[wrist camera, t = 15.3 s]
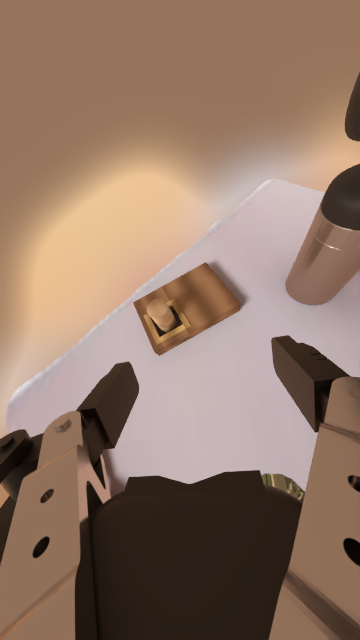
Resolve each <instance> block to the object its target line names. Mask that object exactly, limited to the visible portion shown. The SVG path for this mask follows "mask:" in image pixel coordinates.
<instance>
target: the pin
mask: <svg viewBox="0 0 360 640" xmlns="http://www.w3.org/2000/svg"><path fill="white" fill-rule="evenodd" d="M147 313H148V314H149V315H150V317H151V318H152V319H153V320H154V322H155V323H156V324H157V325H158V326H159V328H160V329H161V330H162V331H163V333H165V334H166V333H168V332H170V331H172V330H174V329H175V328H177V327H179V325H178V322H177V320H176V319H175V317H174V315H173V313H172V312H171V310H170V308H169V306H168V305H167V303H166V301H165V300H163V299H160V298H157V299H154V300H152V301H151V302H150V303H149V304H148V306H147Z"/></svg>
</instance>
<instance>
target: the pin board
mask: <svg viewBox="0 0 360 640" xmlns="http://www.w3.org/2000/svg"><path fill="white" fill-rule="evenodd" d="M157 298H160V299H163V300H165V301H166V303H167V305H168V306H169V308H170V310H171V312H172V313H174V312H176V313H177V315H178V317H179V318H180V320H181V322H182V324H183V325H181V326H179V327H177V328H175V329H174V330H172V331H170V332H168V333H166V334H165V335H163V336H161V335H160V333H159V330H158V328H157V326H156V324H155V322H154V320H153V319H152V318H151V317H150V315H149V314H148V313H147V306H148V304H149V303H150V302H151V301H152V300H154V299H157ZM133 303H134V306H135V308H136V310H137V313H138V315H139V317H140V320H141V322H142V324H143V327H144V329H145V331H146V333H147V336H148V338H149V340H150V343H151V345H152V347H153V350H154V352H155V353H156V354H158V355H159V356H160V355H162V354H163V353H165V352H167V351H169V350H170V349H172V348H174V347H176V346H178V345H179V344H181V343H183V342H185V341H186V340H188V339H190V338H192V337H194V336H195V335H197V334H199V333H201V332H202V331H204V330H206V329H208V328H210V327H211V326H213V325H215V324H217V323H219V322H220V321H222V320H224V319H226V318H227V317H229V316H231V315H233V314H235V313H236V312H238V311H240V303H239V301H238V300H237V299H236V298H235V297H234V295H233V294H232V293H231V292H230V291H229V289H228V288H227V287H226V286H225V285H224V283H223V282H222V281H221V280H220V279H219V277H218V276H217V275H216V274H215V273H214V271H213V270H212V269H211V268H210V267H209V265H208V264H207V263H206V262H205V263H204V264H202V265H200V266H198V267H196V268H195V269H193V270H191V271H189V272H187V273H186V274H184V275H182V276H180V277H178V278H177V279H175V280H173V281H171V282H169V283H168V284H166V285H164V286H162V287H160V288H159V289H157V290H155V291H153V292H151V293H150V294H148V295H146V296H144V297H142V298H141V299H139V300H137V301H135V302H133Z"/></svg>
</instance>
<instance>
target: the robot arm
mask: <svg viewBox="0 0 360 640" xmlns="http://www.w3.org/2000/svg"><path fill="white" fill-rule="evenodd" d="M345 132H346V134H347V136H348V137H349V138H350V139H352V140H355V141H360V73H359V75H358V78H357V80H356V83H355V86H354V89H353V91H352V94H351V98H350V101H349V105H348V108H347V113H346V118H345ZM359 269H360V164H358V165H355V166H353V167H351V168H349V169H347V170H345V171H344V172H342V173H341V174H339V175H338V176H337V177H336V178H335V179H334V180H333V181H332V182H331V184H330V185H329V187H328V189H327V191H326V193H325V195H324V197H323V200H322V202H321V204H320V206H319V209H318V211H317V213H316V215H315V217H314V220H313V222H312V224H311V227H310V229H309V231H308V233H307V235H306V238H305V240H304V242H303V244H302V247H301V249H300V251H299V253H298V255H297V258H296V260H295V262H294V264H293V267H292V269H291V271H290V273H289V275H288V278H287V280H286V290H287V292H288V293H289V295H290V296H291V297H292V298H294V299H295V300H297V301H299V302H301V303H304V304H309V305H318V304H323V303H326V302H328V301H329V300H331V299H332V298H333V297H334V296H335V295H336V294H337V293H338V292H339V291H340V289H341V288H342V287H343V286H344V285H345V284H346V283H347V282H348V281H349V280H350V279H351V278H352V277H353V276H354V275H355V273H356V272H357V271H358V270H359ZM271 343H272V353H273V363H274V368H275V371H276V374H277V376H278V377H279V379H280V380H281V382H282V383H283V385H284V386H285V388H286V389H287V391H288V392H289V394H290V395H291V397H292V398H293V400H294V402H295V403H296V405H297V406H298V408H299V409H300V411H301V412H302V414H303V415H304V417H305V418H306V420H307V421H308V423H309V424H310V426H311V427H312V429H313V430H314V432H318V436H317V441H316V446H315V450H314V455H313V459H312V464H311V469H310V473H309V478H308V482H307V487H306V491H305V496H304V501H303V502H302V501H300V500H299V499H297V498H296V497H294V496H293V495H291V494H289V493H287V492H285V491H283V490H281V489H279V488H276V487H273V486H271V485H267V484H263V480H262V477H261V473H260V470H255V471H236V472H223V473H221V474H218V475H215V476H212V477H210V478H207V479H204V480H201V481H199V482H196V483H193V484H186V483H182V482H179V481H175V480H172V479H168V478H165V477H161V476H143V477H129V478H128V482H127V485H126V488H125V491H123V492H121V493H119V494H117V495H115V496H113V497H112V498H111V495H110V490H109V485H108V480H107V475H106V470H105V464H104V459H103V457H102V455H101V454H102V452H103V449H112V448H115V446H116V444H117V441H118V439H119V437H120V434H121V432H122V430H123V428H124V425H125V423H126V421H127V419H128V416H129V414H130V412H131V409H132V407H133V405H134V403H135V400H136V398H137V396H138V393H139V384H138V381H137V379H136V376H135V373H134V370H133V368H132V365H131V363H130V362H124V363H118V364H115V365H114V367H113V368H112V369H111V371H110V372H109V373H108V374H107V375H106V376H105V377H103V378H102V379H101V380H100V381H99V382H98V384H97V385H96V387H94V389H93V390H92V391H91V393H90V394H89V395H88V396H87V397H86V399H85V400H84V401H83V402H82V404H81V405H80V406H79V407H78V409H77V410H76V411H71V412H68V413H66V414H64V415H62V416H60V417H59V418H57V419H56V420H54V421H53V422H52V423H51V424H50V425H49V426H48V427H47V429H46V430H45V432H44V433H42V434H39V435H37V436H34V437H31V438H30V436H29V435H28V433H27V432H26V430H23V429H22V430H17V431H14V432H12V433H10V434H8V435H6V436H5V437H3V438H2V439H0V484H1V485H2V486H3V488H4V489H5V490H6V491H7V493H8V494H9V495H10V496H9V497H8V499H7V500H6V501H5V503H4V504H3V505H2V507H1V508H0V640H360V378H358V377H351V376H349V375H348V374H347V373H346V372H344V371H343V370H342V369H340V368H339V367H338V366H337V365H335V364H334V363H333V362H332V361H330V360H329V359H327V358H326V357H325V356H324V355H323V354H321V353H320V352H319V351H318V350H316V349H315V348H314V347H312V346H309V345H307V344H304V343H297V342H296V341H294V340H293V339H292V338H291V337H290V336H288V335H286V336H280V337H275V338H272V340H271Z"/></svg>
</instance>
